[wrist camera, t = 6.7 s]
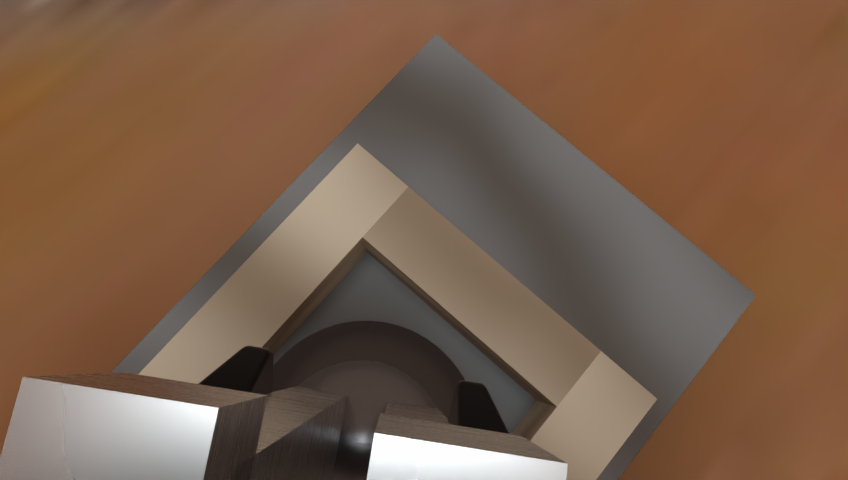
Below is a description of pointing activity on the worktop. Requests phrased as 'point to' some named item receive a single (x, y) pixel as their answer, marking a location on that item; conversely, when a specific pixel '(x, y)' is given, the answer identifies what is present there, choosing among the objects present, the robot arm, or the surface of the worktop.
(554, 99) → the worktop surface
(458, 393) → the robot arm
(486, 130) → the dock
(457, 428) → the grey piece
